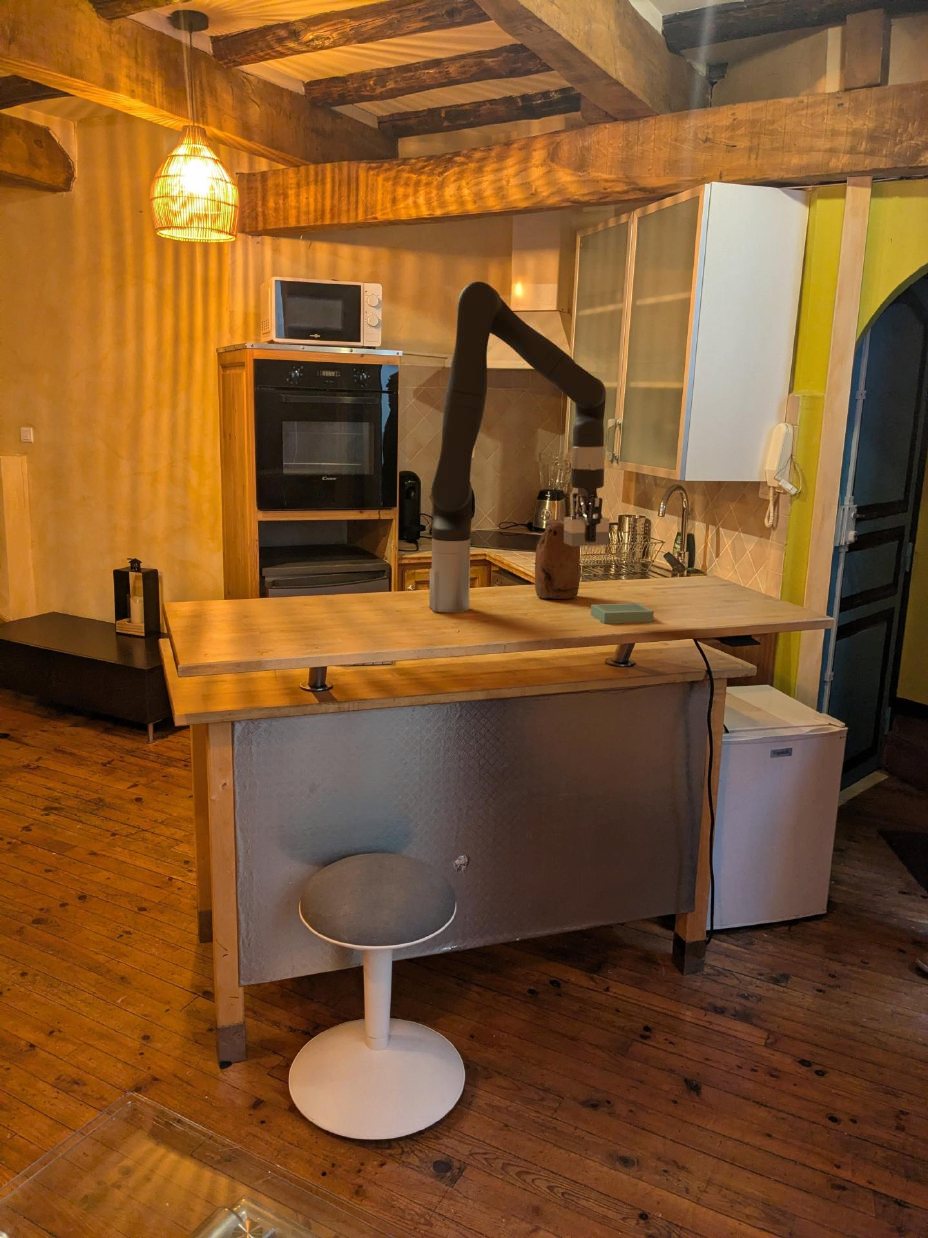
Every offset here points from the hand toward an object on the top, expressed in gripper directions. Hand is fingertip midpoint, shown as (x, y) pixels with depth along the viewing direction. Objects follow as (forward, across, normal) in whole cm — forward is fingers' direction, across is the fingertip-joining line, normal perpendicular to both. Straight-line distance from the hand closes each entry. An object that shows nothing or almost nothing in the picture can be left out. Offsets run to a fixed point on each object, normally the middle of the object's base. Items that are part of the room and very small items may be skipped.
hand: (586, 539), depth 221 cm
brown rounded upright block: (+18, -22, 0) cm, 29 cm away
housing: (+1, 0, 0) cm, 1 cm away
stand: (+18, +3, +8) cm, 20 cm away
